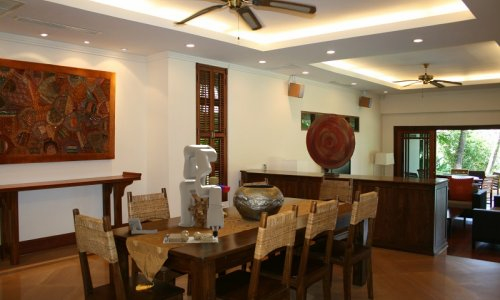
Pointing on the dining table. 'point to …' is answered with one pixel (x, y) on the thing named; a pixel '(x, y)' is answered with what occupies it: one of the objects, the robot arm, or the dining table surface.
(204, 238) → the door leaf
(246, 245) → the dining table surface
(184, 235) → the frame leaf
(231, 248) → the dining table surface
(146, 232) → the door handle
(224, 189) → the figurine
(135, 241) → the dining table surface
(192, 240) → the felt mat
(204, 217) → the decorative coral sculpture
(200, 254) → the dining table surface
